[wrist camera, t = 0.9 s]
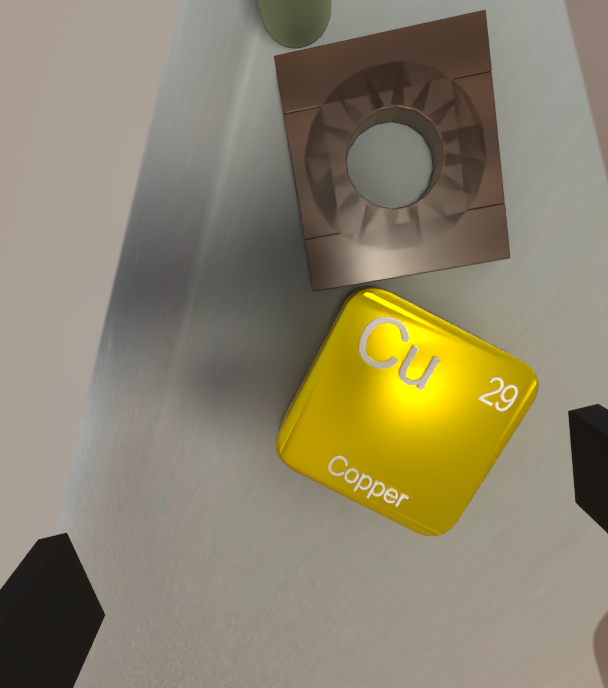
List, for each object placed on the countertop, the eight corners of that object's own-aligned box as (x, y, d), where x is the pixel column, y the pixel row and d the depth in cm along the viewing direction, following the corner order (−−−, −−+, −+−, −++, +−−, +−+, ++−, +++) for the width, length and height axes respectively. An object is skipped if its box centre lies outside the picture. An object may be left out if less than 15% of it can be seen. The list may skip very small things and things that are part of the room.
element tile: (273, 436, 37) (264, 460, 33) (357, 276, 35) (361, 276, 30) (430, 516, 38) (444, 551, 33) (525, 363, 35) (555, 377, 30)
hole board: (278, 74, 33) (273, 55, 30) (471, 33, 32) (486, 9, 29) (314, 289, 35) (313, 291, 32) (495, 259, 34) (510, 258, 31)
